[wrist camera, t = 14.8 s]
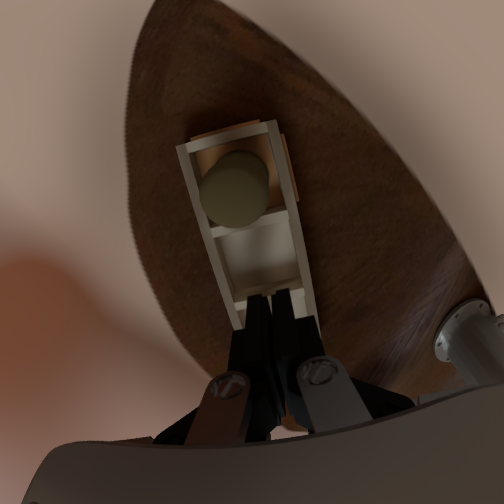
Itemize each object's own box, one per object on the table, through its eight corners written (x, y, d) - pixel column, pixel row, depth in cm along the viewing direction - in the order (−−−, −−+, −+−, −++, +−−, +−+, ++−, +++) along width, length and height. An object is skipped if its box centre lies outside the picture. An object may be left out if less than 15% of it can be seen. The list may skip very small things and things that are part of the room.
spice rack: (276, 117, 28) (279, 114, 25) (321, 334, 38) (326, 350, 35) (183, 142, 29) (174, 142, 26) (248, 349, 39) (247, 366, 36)
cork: (199, 178, 30) (171, 198, 20) (240, 137, 28) (232, 135, 18) (239, 217, 32) (232, 256, 21) (281, 179, 30) (295, 199, 20)
